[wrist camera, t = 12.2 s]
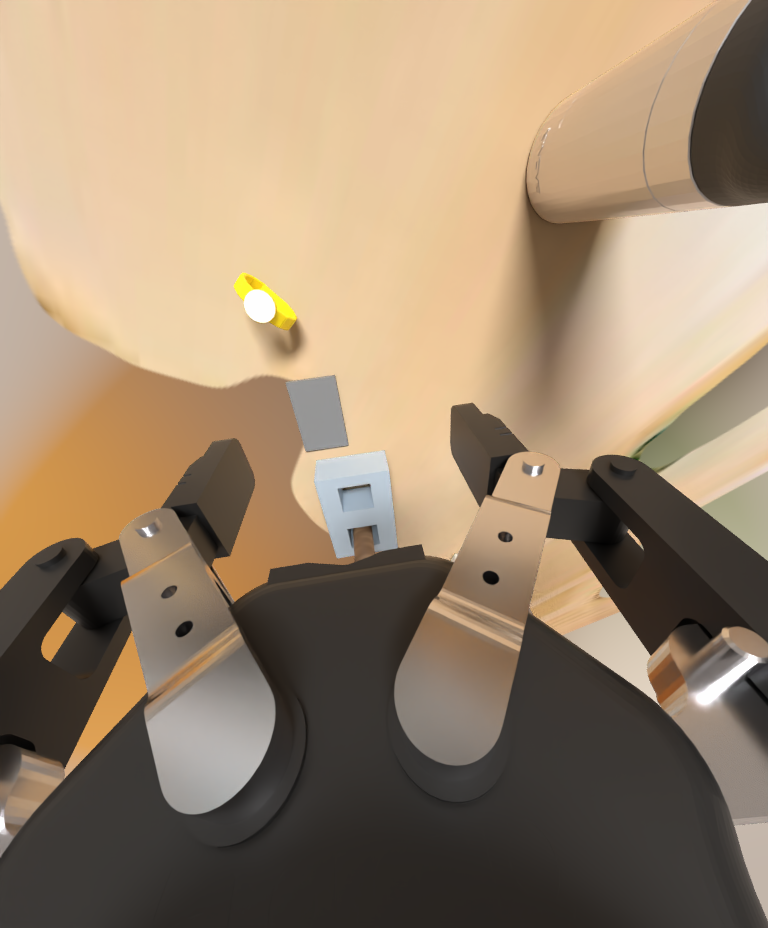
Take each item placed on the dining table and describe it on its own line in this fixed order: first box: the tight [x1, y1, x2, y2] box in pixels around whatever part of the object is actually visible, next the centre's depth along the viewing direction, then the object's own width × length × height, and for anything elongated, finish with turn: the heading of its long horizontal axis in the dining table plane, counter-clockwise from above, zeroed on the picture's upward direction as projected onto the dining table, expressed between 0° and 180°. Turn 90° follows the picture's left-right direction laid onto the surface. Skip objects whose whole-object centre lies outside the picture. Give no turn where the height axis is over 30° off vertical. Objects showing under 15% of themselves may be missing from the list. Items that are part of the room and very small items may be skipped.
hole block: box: [314, 450, 398, 558], centre depth 48 cm, size 10×16×5 cm, turn 6°
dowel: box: [353, 525, 375, 562], centre depth 48 cm, size 3×3×10 cm
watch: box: [234, 273, 297, 330], centre depth 31 cm, size 6×3×6 cm, turn 47°
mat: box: [286, 375, 348, 451], centre depth 41 cm, size 6×10×1 cm, turn 6°
